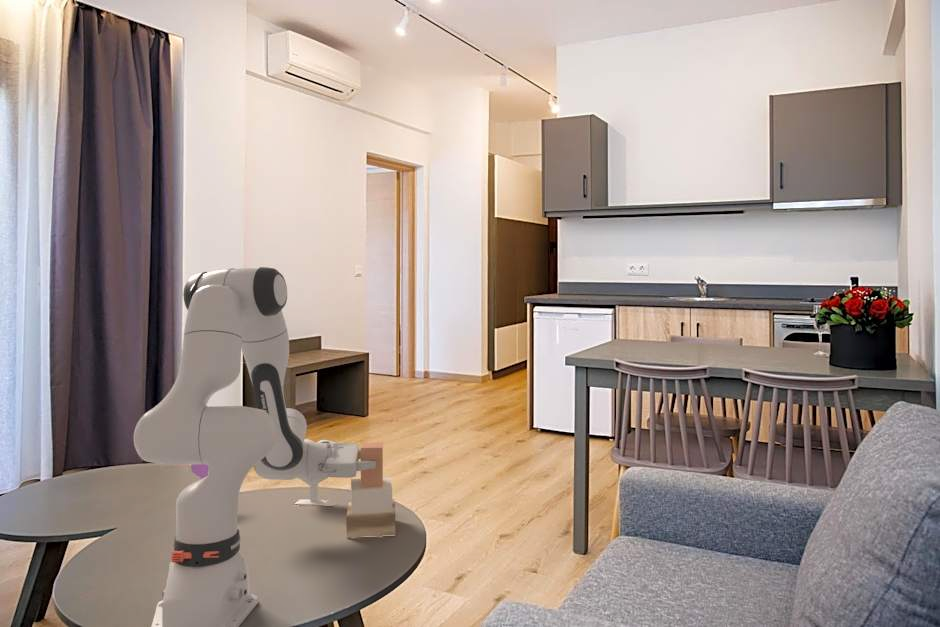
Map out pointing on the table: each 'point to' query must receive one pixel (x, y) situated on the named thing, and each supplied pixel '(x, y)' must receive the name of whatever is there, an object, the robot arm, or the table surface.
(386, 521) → the tower base
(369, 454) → the terracotta block
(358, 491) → the tower top
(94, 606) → the table surface
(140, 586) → the table surface
